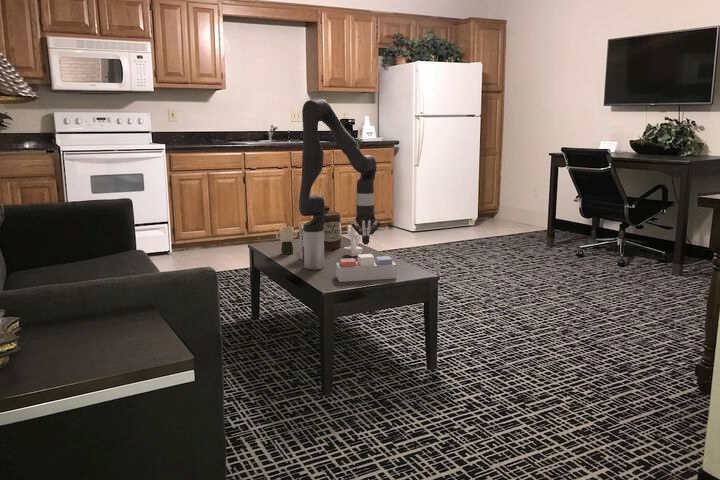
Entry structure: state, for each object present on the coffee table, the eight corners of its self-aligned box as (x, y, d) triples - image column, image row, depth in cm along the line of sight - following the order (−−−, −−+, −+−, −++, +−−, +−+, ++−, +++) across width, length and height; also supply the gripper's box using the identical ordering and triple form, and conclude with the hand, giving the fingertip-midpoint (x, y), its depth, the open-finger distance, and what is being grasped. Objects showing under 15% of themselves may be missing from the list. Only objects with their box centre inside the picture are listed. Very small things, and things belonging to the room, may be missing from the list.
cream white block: (357, 265, 252) (357, 254, 251) (371, 265, 253) (371, 253, 252) (360, 269, 246) (360, 257, 245) (374, 268, 247) (374, 256, 246)
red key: (339, 270, 250) (339, 258, 249) (353, 269, 252) (353, 258, 250) (342, 273, 245) (342, 262, 244) (356, 272, 246) (356, 261, 245)
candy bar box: (321, 256, 289) (320, 223, 286) (324, 258, 285) (323, 225, 281) (299, 258, 285) (298, 225, 282) (302, 260, 281) (301, 226, 277)
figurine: (352, 257, 285) (351, 227, 282) (342, 254, 293) (342, 224, 290) (364, 255, 289) (364, 226, 286) (355, 252, 297) (354, 223, 294)
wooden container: (320, 251, 300) (319, 208, 296) (309, 245, 313) (307, 205, 309) (346, 247, 307) (345, 206, 303) (334, 242, 320) (333, 202, 315)
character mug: (296, 251, 301) (295, 226, 298) (299, 254, 294) (298, 228, 291) (275, 253, 297) (274, 227, 294) (278, 256, 290) (277, 230, 288)
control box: (336, 276, 252) (336, 262, 251) (391, 273, 257) (391, 259, 255) (339, 281, 244) (339, 267, 242) (396, 278, 248) (396, 264, 247)
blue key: (375, 268, 253) (375, 256, 252) (388, 267, 254) (388, 256, 253) (378, 271, 248) (378, 260, 247) (392, 270, 249) (392, 259, 248)
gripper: (378, 201, 248) (379, 241, 252) (348, 203, 246) (348, 243, 249) (382, 204, 241) (383, 245, 245) (351, 205, 239) (351, 247, 242)
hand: (365, 244), depth 247 cm, fingers closed
